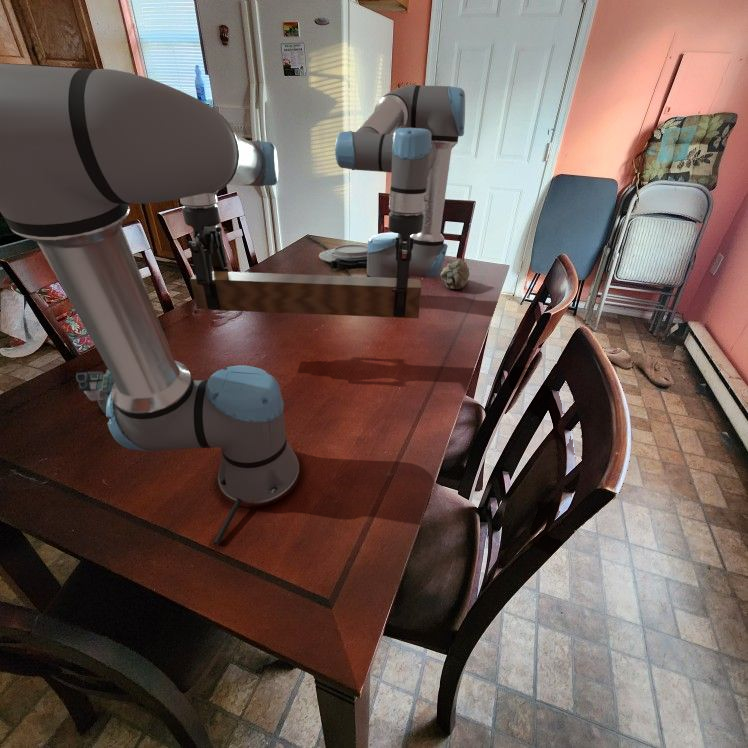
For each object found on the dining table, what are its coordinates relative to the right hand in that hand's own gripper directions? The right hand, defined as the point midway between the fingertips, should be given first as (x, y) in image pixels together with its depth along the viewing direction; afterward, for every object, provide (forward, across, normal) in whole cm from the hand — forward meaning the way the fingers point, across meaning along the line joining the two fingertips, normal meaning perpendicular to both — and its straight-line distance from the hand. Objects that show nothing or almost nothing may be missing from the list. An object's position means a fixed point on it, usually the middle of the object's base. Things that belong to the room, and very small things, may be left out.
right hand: (399, 310), depth 101 cm
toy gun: (+19, -20, +66) cm, 72 cm away
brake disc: (+18, +86, +19) cm, 90 cm away
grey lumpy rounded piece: (+18, +64, -23) cm, 70 cm away
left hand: (+1, 0, +45) cm, 45 cm away
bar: (+1, 0, +22) cm, 22 cm away
